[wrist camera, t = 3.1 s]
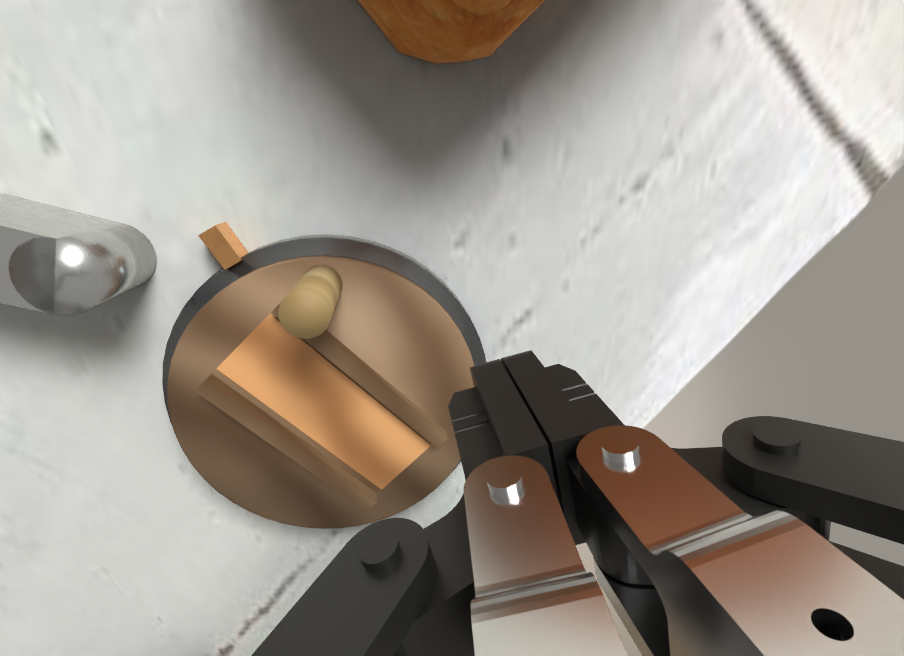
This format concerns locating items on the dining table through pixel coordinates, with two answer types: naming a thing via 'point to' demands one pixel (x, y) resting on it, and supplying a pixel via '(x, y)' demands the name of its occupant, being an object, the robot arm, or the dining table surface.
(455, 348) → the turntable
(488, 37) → the bread
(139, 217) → the dining table surface
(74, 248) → the banded metal capsule
